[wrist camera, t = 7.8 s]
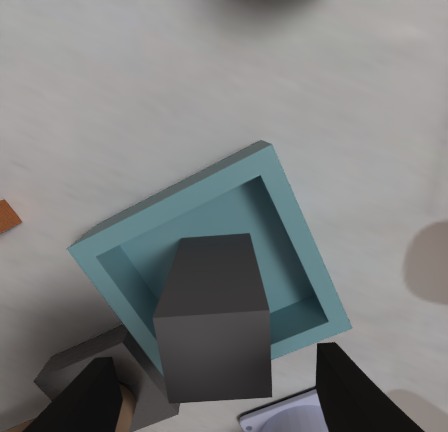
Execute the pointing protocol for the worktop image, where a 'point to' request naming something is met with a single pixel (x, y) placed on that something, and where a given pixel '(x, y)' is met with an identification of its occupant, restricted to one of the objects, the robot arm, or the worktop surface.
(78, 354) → the wooden and grey pieces
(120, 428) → the crank lever
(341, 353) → the robot arm
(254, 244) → the tray
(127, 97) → the worktop surface
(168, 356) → the block
